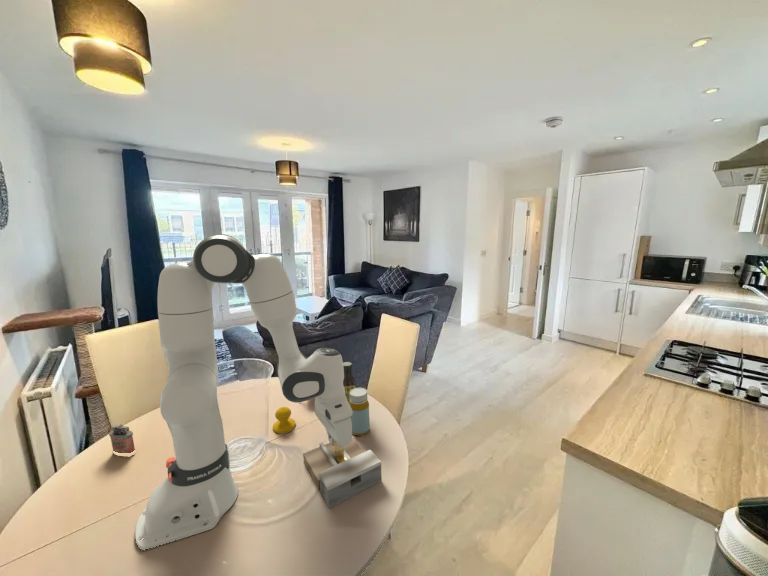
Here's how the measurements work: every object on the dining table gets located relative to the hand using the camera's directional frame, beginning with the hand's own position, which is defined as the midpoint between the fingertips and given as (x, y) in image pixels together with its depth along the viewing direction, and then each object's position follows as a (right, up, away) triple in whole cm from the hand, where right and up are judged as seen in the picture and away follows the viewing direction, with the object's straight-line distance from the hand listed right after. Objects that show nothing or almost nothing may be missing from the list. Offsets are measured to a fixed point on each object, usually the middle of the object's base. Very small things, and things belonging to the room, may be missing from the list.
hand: (332, 442), depth 96 cm
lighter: (-70, -8, +7) cm, 71 cm away
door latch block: (+3, -7, -3) cm, 8 cm away
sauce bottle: (+1, -2, +29) cm, 29 cm away
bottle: (+7, -4, +16) cm, 18 cm away
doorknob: (-21, -4, +20) cm, 29 cm away
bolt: (+4, -4, -5) cm, 8 cm away
